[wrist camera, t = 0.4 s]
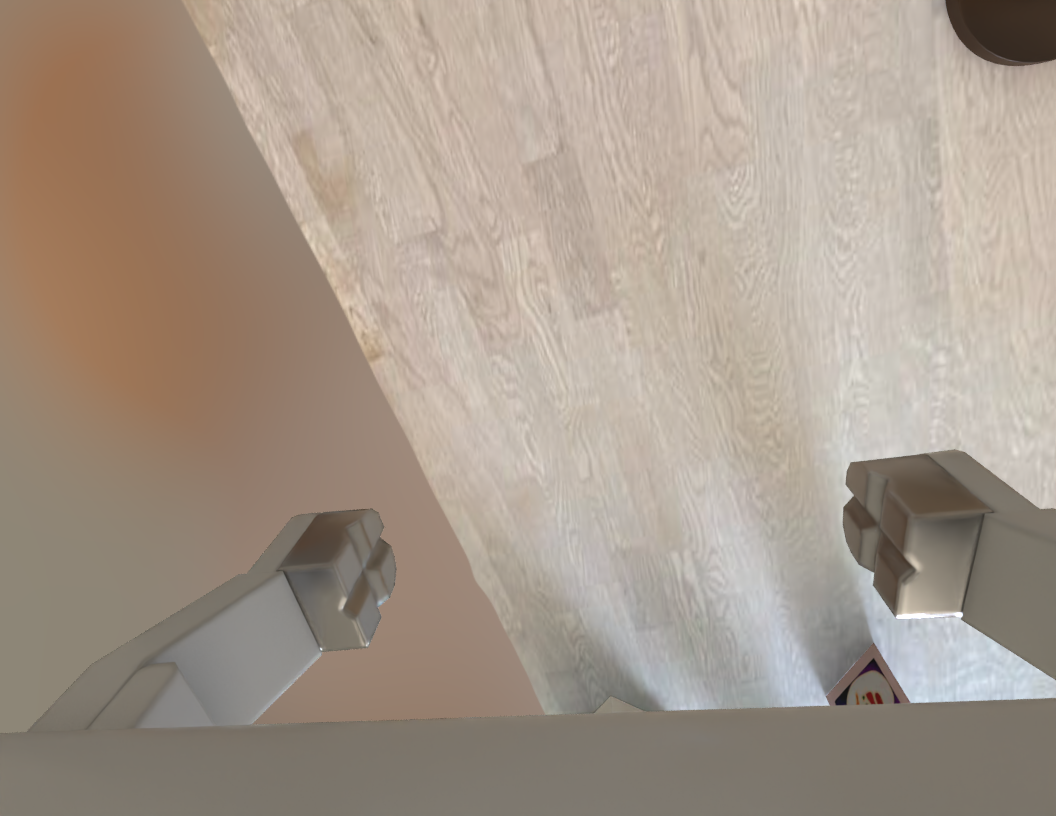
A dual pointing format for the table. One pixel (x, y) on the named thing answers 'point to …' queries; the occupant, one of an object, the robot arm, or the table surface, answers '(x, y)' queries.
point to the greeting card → (868, 683)
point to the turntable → (1006, 29)
